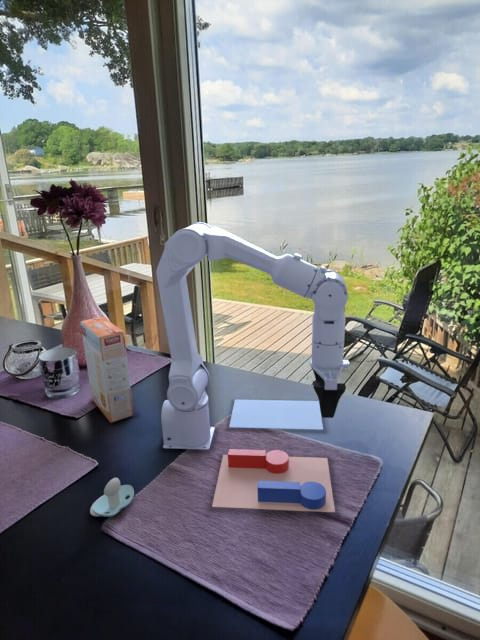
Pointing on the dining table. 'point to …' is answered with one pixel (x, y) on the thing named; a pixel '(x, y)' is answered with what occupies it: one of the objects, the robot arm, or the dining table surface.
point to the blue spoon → (293, 493)
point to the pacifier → (112, 499)
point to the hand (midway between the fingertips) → (325, 405)
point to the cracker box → (107, 368)
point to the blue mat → (276, 414)
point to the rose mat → (243, 482)
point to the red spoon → (259, 460)
